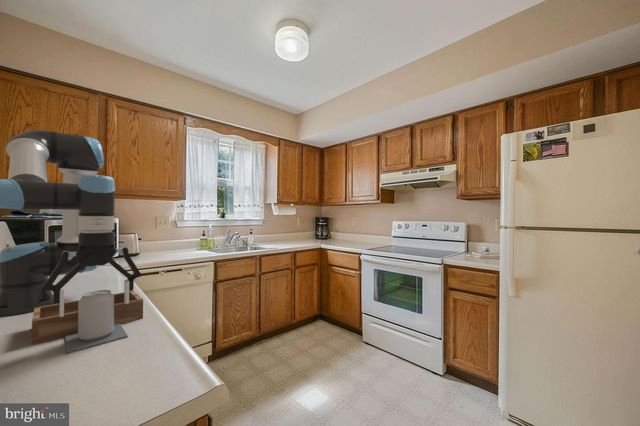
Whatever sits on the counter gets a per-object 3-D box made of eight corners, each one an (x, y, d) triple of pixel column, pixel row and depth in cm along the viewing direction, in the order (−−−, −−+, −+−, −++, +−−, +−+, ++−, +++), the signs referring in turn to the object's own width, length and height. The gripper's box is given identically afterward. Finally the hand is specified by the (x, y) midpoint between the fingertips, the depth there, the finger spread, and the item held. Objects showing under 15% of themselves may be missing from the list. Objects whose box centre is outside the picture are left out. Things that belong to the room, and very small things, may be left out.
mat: (65, 337, 72) (65, 336, 72) (119, 324, 80) (119, 323, 80) (66, 353, 63) (66, 352, 63) (127, 337, 72) (127, 335, 72)
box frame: (34, 327, 78) (34, 307, 78) (133, 307, 95) (133, 290, 95) (31, 344, 68) (31, 321, 68) (143, 318, 85) (143, 299, 85)
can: (93, 343, 67) (93, 297, 67) (70, 340, 69) (70, 295, 69) (120, 331, 75) (121, 289, 75) (99, 328, 76) (99, 287, 76)
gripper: (28, 235, 60) (27, 326, 61) (153, 230, 78) (152, 301, 78) (30, 232, 66) (29, 317, 66) (146, 229, 84) (146, 295, 84)
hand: (96, 308), depth 72 cm, fingers open, 13 cm apart
